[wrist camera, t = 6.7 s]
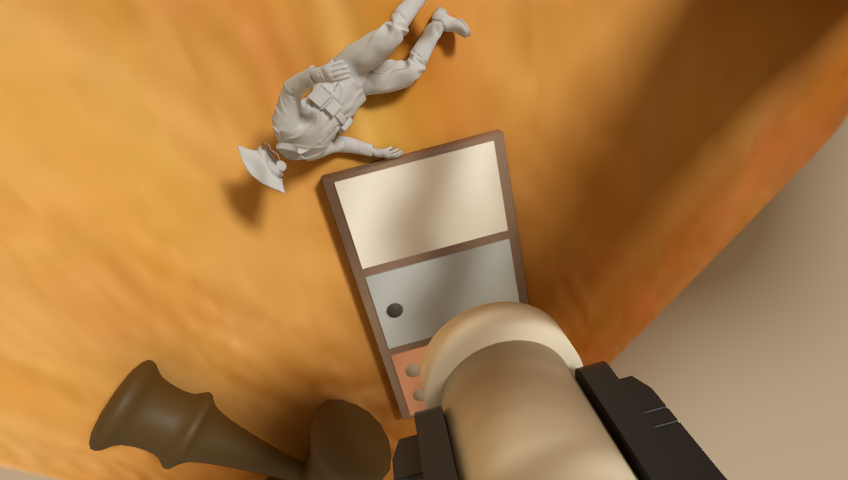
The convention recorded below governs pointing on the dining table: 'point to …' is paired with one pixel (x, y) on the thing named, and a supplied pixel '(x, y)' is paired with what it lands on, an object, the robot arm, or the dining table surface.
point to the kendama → (236, 433)
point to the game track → (428, 245)
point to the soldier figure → (345, 94)
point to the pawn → (516, 399)
